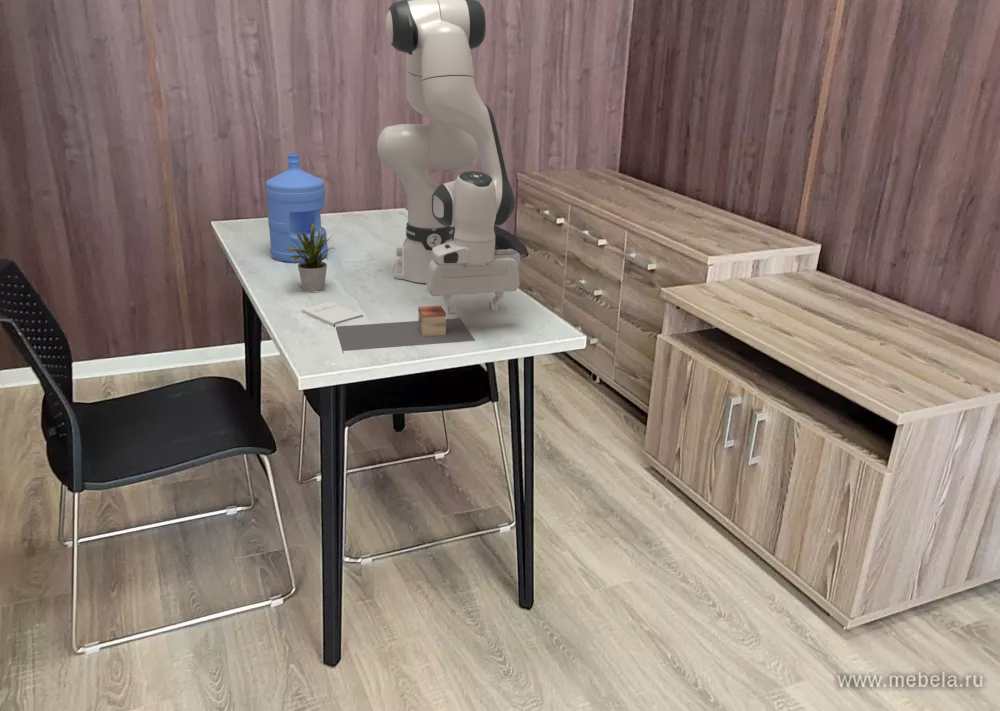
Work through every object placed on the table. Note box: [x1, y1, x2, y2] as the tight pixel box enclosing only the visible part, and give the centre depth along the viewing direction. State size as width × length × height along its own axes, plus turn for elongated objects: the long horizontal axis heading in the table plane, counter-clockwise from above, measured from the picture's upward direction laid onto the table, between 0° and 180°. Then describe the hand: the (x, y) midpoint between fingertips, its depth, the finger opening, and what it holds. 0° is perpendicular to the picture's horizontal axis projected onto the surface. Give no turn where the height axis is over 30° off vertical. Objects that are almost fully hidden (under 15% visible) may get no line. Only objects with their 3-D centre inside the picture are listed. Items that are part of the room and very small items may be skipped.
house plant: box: [284, 223, 337, 293], centre depth 202 cm, size 14×14×16 cm
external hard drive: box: [301, 301, 364, 328], centre depth 187 cm, size 2×8×12 cm
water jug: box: [265, 153, 329, 263], centre depth 225 cm, size 16×16×28 cm
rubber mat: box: [335, 317, 476, 354], centre depth 177 cm, size 14×28×1 cm, turn 106°
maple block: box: [417, 305, 447, 336], centre depth 178 cm, size 5×5×5 cm
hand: (472, 311), depth 180 cm, fingers open, 8 cm apart
